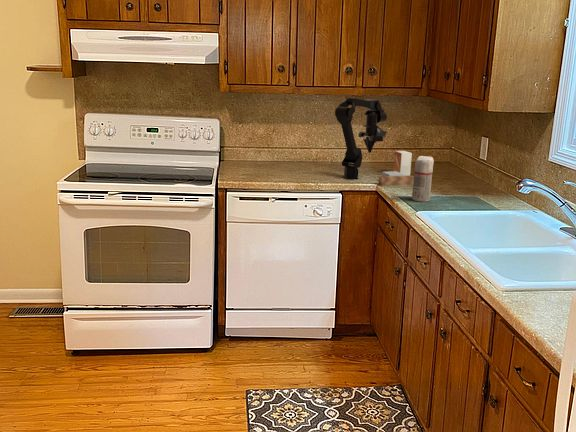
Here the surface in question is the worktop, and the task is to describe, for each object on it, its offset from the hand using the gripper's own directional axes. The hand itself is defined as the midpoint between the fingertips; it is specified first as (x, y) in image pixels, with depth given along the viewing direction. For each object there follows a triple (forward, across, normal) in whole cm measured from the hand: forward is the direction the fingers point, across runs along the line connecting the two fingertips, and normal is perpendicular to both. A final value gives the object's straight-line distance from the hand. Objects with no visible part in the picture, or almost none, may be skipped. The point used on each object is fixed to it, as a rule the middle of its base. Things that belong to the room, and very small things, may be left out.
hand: (369, 152), depth 335 cm
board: (+12, -26, -3) cm, 29 cm away
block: (+12, -21, -4) cm, 25 cm away
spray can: (+12, -60, +2) cm, 61 cm away
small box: (+12, -6, -17) cm, 22 cm away
